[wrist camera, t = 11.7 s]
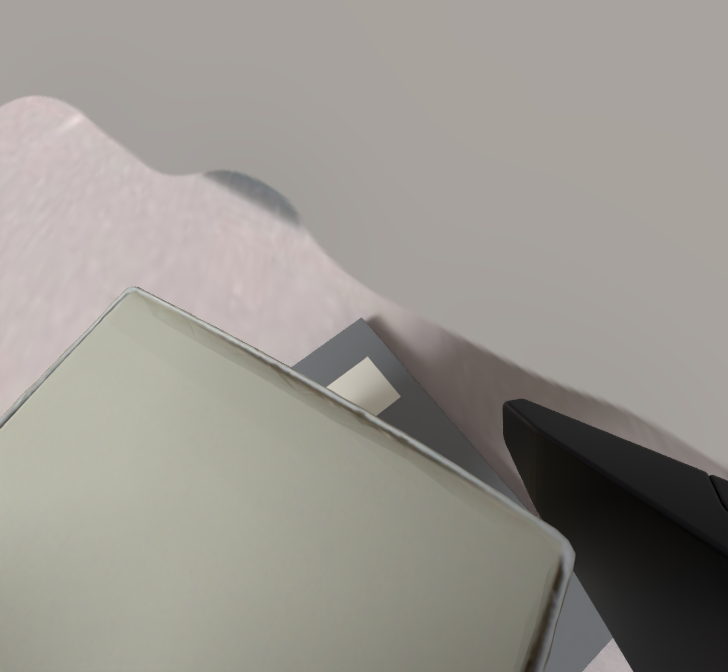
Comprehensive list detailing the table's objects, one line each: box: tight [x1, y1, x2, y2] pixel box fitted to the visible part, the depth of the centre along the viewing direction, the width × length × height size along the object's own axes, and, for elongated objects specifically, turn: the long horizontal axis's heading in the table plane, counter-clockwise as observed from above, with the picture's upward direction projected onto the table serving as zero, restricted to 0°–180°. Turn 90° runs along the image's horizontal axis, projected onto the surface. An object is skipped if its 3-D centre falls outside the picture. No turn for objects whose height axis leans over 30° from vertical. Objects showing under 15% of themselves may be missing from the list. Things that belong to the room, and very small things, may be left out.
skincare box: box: [0, 287, 575, 672], centre depth 9 cm, size 6×4×12 cm
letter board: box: [291, 318, 613, 672], centre depth 15 cm, size 15×12×1 cm
